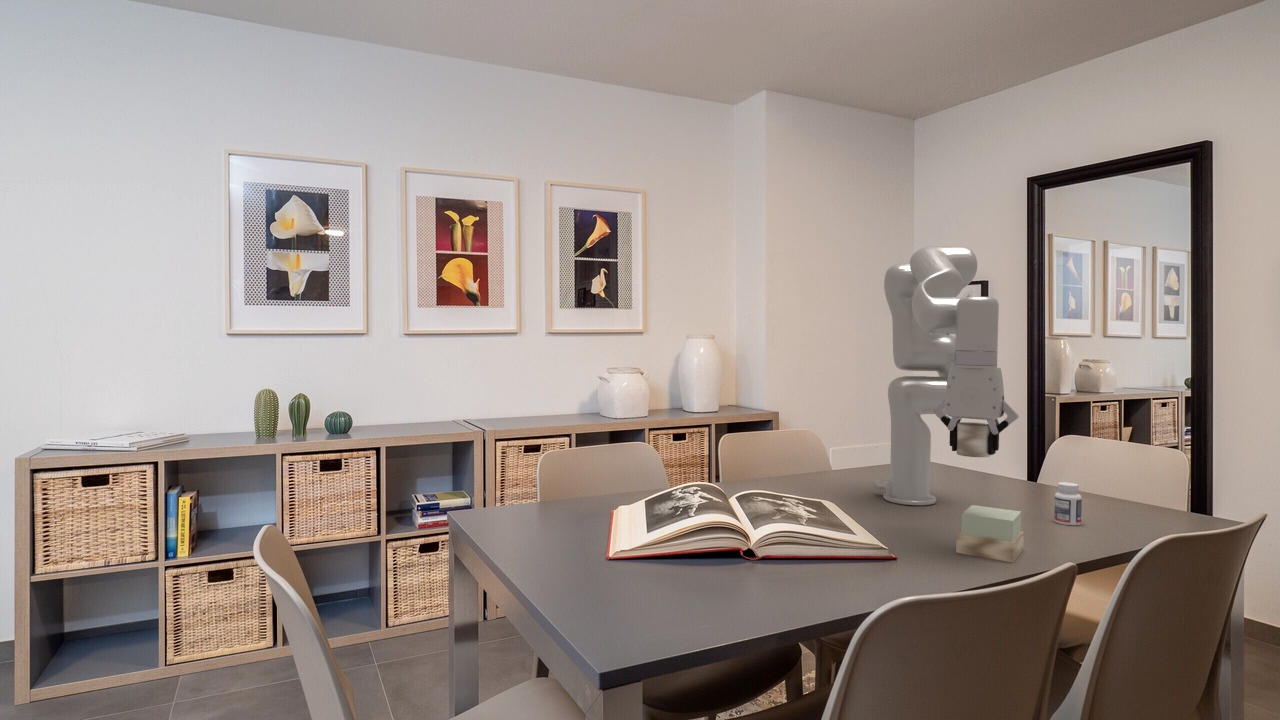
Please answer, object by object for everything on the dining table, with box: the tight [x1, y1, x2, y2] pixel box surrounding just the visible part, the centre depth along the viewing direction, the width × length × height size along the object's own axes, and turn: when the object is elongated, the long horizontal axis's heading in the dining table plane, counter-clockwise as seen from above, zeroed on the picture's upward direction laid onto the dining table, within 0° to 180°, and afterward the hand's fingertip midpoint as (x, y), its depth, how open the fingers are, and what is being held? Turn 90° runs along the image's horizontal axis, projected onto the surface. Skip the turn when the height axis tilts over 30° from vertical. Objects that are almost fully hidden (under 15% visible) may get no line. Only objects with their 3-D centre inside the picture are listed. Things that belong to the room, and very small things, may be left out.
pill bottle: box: [1053, 481, 1083, 526], centre depth 165 cm, size 5×5×9 cm
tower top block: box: [960, 504, 1022, 542], centre depth 143 cm, size 9×9×4 cm
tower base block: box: [955, 530, 1025, 564], centre depth 143 cm, size 10×10×4 cm
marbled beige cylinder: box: [956, 421, 991, 458], centre depth 143 cm, size 6×6×6 cm
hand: (973, 451), depth 143 cm, fingers closed on marbled beige cylinder, 6 cm apart
